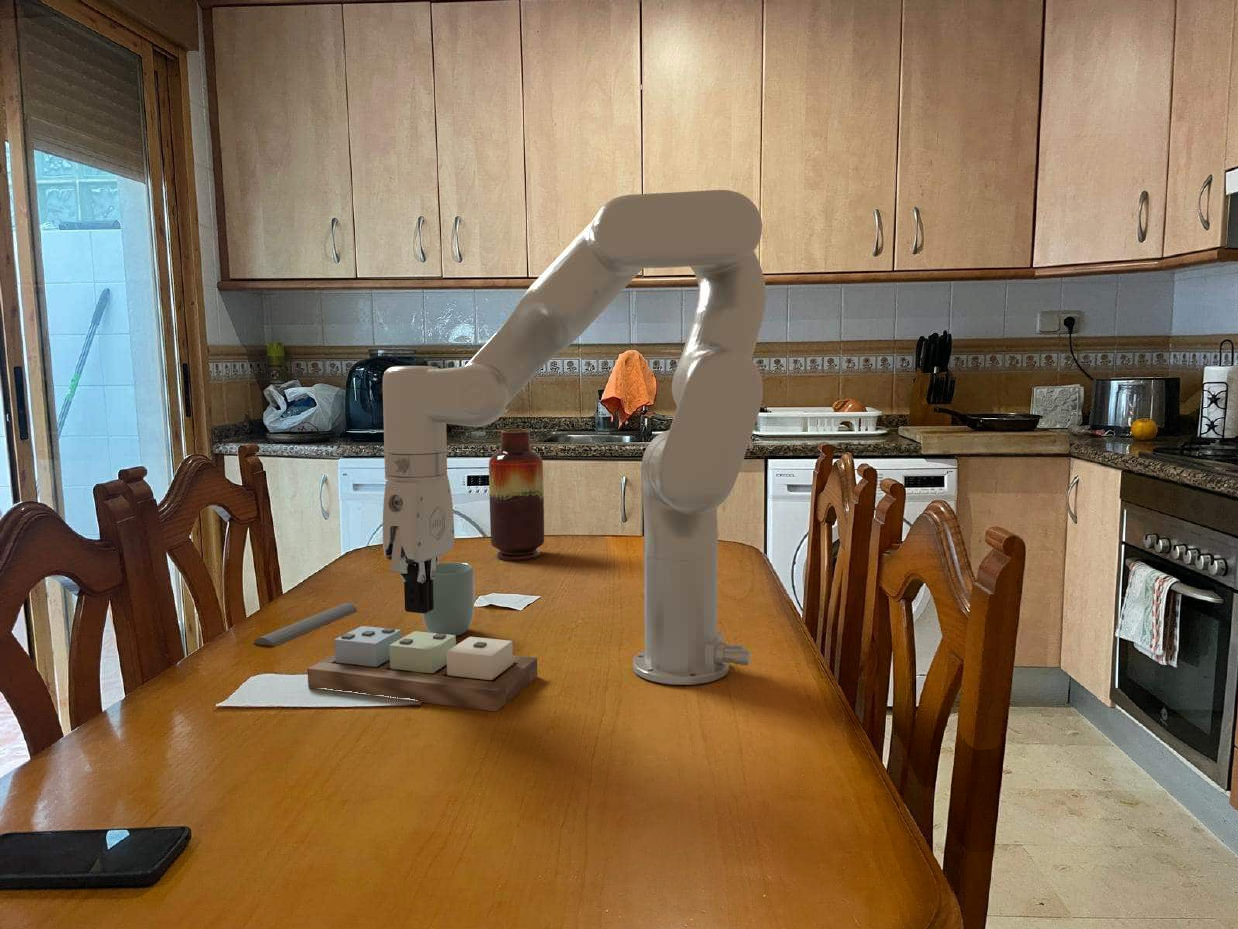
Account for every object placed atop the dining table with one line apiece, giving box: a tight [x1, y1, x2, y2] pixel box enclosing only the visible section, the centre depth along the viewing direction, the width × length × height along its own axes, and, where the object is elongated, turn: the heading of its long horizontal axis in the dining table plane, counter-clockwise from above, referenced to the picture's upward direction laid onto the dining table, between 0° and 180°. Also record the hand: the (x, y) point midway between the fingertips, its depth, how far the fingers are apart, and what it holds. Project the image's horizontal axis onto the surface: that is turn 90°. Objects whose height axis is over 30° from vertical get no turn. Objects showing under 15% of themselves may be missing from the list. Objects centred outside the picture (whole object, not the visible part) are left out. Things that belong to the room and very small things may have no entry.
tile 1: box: [447, 636, 514, 681], centre depth 111 cm, size 6×6×3 cm
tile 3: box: [334, 625, 403, 668], centre depth 116 cm, size 6×6×3 cm
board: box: [306, 653, 538, 712], centre depth 114 cm, size 26×12×2 cm, turn 72°
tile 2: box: [389, 630, 457, 674], centre depth 114 cm, size 6×6×3 cm
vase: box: [488, 428, 545, 562], centre depth 185 cm, size 11×11×26 cm
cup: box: [421, 561, 475, 637], centre depth 134 cm, size 8×8×10 cm
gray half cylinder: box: [253, 602, 358, 647], centre depth 138 cm, size 4×20×2 cm, turn 159°
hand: (419, 610), depth 113 cm, fingers closed
